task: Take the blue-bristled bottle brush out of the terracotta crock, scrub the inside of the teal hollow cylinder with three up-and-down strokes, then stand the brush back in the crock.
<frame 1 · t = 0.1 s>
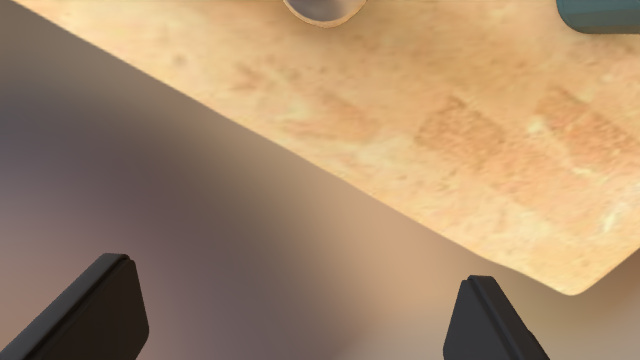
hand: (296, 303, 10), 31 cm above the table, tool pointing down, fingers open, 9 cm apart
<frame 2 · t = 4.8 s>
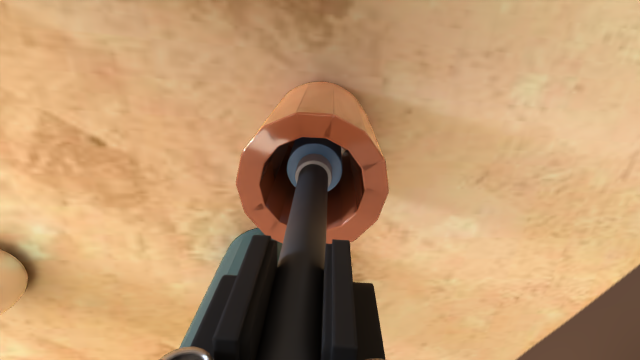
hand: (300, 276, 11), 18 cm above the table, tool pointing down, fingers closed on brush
crock: (319, 130, 27), on the table
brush: (319, 132, 26), point 1 cm above the table, touching crock, gripper
teal hollow cylinder: (272, 267, 33), on the table
metal bottle: (8, 265, 34), on the table
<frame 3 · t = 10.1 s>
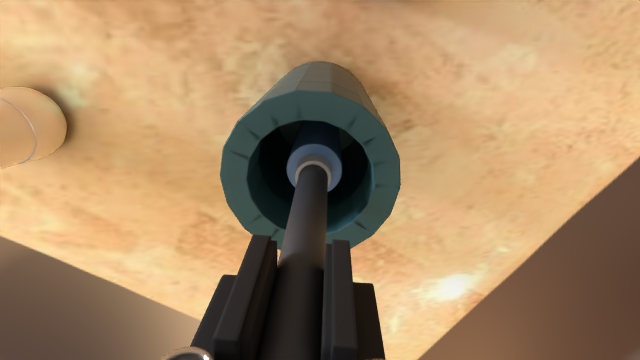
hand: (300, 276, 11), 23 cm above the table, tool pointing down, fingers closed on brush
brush: (319, 132, 26), point 6 cm above the table, touching gripper
teal hollow cylinder: (319, 112, 32), on the table
metal bottle: (45, 117, 33), on the table
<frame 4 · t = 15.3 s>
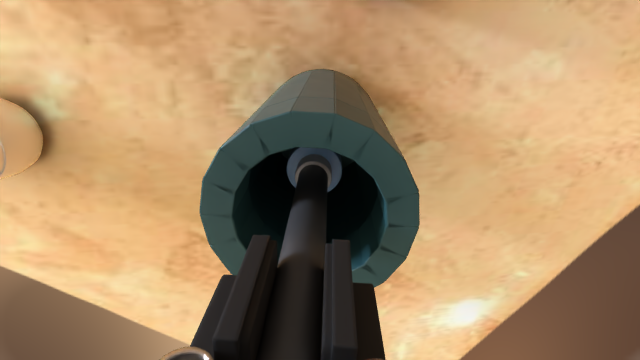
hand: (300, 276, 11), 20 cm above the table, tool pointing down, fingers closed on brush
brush: (319, 132, 26), point 2 cm above the table, touching gripper
teal hollow cylinder: (321, 125, 29), on the table
metal bottle: (20, 129, 30), on the table
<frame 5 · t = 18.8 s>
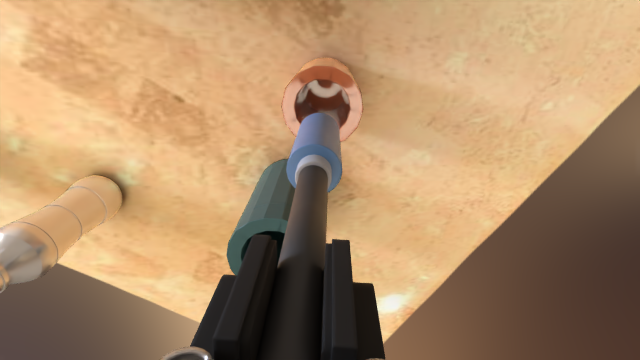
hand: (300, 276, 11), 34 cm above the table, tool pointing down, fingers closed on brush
crock: (324, 89, 42), on the table
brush: (319, 132, 26), point 17 cm above the table, touching gripper
teal hollow cylinder: (291, 189, 47), on the table
metal bottle: (107, 191, 49), on the table
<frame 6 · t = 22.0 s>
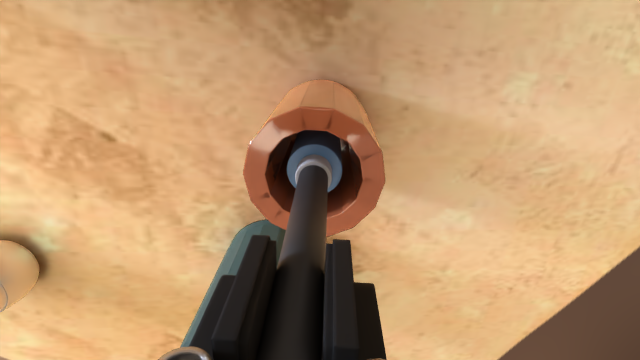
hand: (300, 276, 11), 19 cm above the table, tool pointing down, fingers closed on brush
crock: (320, 125, 28), on the table
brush: (319, 132, 26), point 2 cm above the table, touching gripper
teal hollow cylinder: (274, 258, 34), on the table
metal bottle: (20, 257, 35), on the table
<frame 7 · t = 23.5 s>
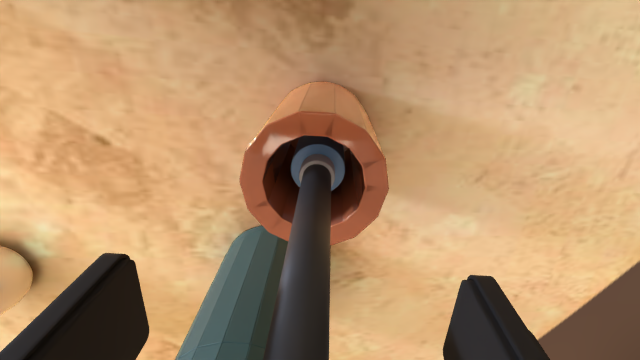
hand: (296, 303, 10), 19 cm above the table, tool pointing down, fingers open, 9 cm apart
crock: (320, 129, 27), on the table
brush: (321, 132, 27), point 1 cm above the table, touching crock
teal hollow cylinder: (273, 264, 33), on the table
metal bottle: (13, 263, 34), on the table
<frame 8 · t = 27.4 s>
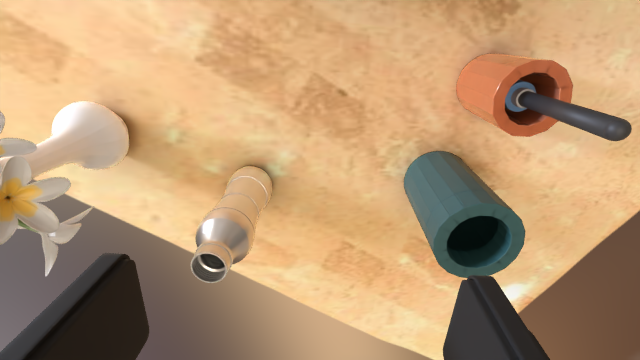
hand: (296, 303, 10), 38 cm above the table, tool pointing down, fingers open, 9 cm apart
crock: (486, 84, 44), on the table
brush: (488, 86, 43), point 1 cm above the table, touching crock
flower vase: (113, 129, 48), on the table
teal hollow cylinder: (435, 180, 49), on the table
metal bottle: (253, 181, 51), on the table
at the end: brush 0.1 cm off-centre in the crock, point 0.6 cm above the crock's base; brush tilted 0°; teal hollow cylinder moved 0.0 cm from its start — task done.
